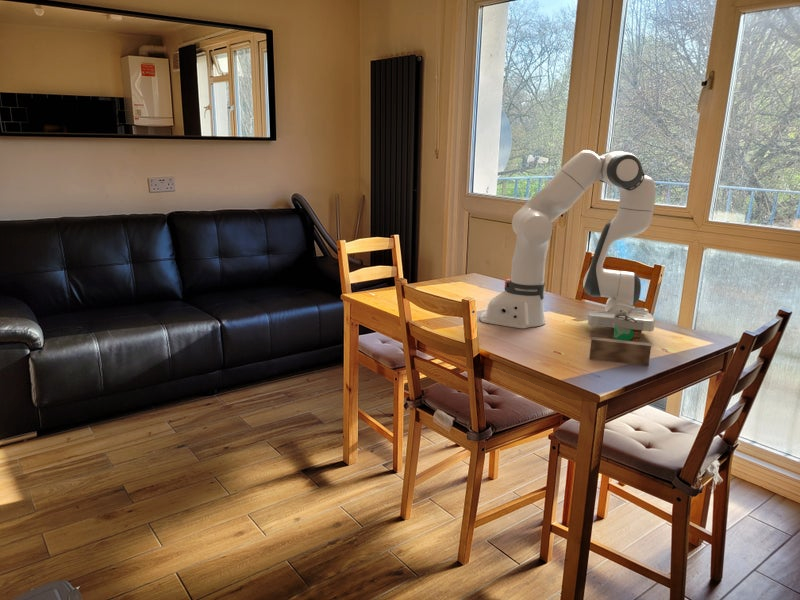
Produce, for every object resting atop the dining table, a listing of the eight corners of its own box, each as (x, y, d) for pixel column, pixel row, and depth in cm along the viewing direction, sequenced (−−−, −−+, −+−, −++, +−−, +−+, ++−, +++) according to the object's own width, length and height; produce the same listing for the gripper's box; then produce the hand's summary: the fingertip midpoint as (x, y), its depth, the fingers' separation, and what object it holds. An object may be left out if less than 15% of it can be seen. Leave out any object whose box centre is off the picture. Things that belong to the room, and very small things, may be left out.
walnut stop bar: (589, 359, 174) (591, 339, 173) (589, 356, 177) (591, 337, 175) (648, 366, 170) (651, 345, 168) (647, 363, 172) (650, 343, 171)
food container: (602, 342, 190) (606, 311, 187) (621, 341, 190) (625, 311, 187) (619, 355, 178) (623, 323, 175) (639, 355, 178) (643, 323, 176)
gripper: (588, 303, 203) (587, 314, 190) (653, 309, 197) (657, 321, 184) (586, 321, 204) (586, 333, 192) (650, 328, 199) (654, 340, 186)
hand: (621, 327), depth 188 cm, fingers closed
